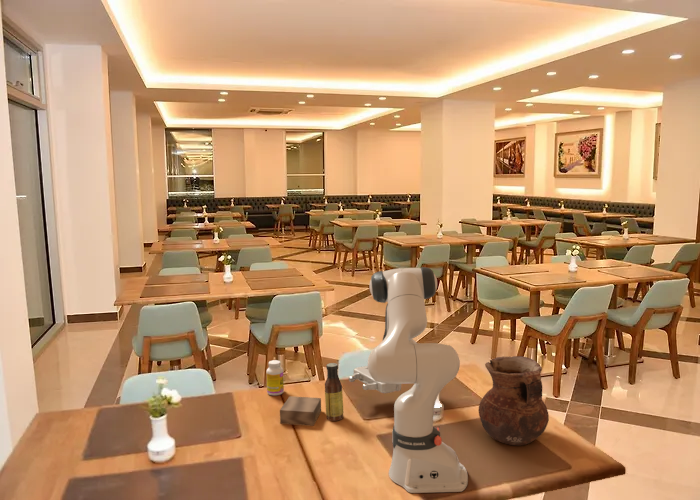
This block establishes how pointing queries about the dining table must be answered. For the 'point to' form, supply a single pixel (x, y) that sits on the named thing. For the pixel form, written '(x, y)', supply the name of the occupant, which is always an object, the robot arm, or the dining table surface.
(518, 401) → the jug
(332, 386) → the sauce bottle
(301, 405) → the walnut block
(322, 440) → the dining table surface
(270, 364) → the supplement bottle
